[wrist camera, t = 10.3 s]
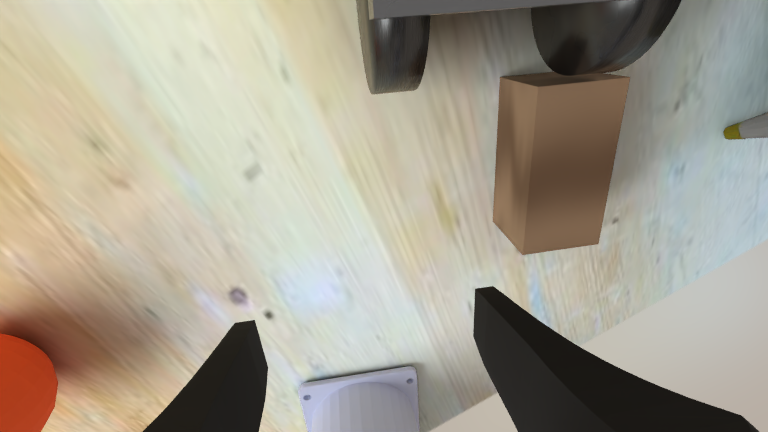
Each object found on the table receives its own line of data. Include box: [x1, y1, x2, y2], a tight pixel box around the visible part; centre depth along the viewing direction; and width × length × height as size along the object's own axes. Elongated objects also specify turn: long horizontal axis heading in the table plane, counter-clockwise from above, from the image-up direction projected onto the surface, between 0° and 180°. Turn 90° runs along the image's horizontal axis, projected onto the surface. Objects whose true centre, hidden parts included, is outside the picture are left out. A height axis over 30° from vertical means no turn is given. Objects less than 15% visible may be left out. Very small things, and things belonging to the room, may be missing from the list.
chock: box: [493, 72, 630, 255], centre depth 19 cm, size 8×4×4 cm, turn 5°
